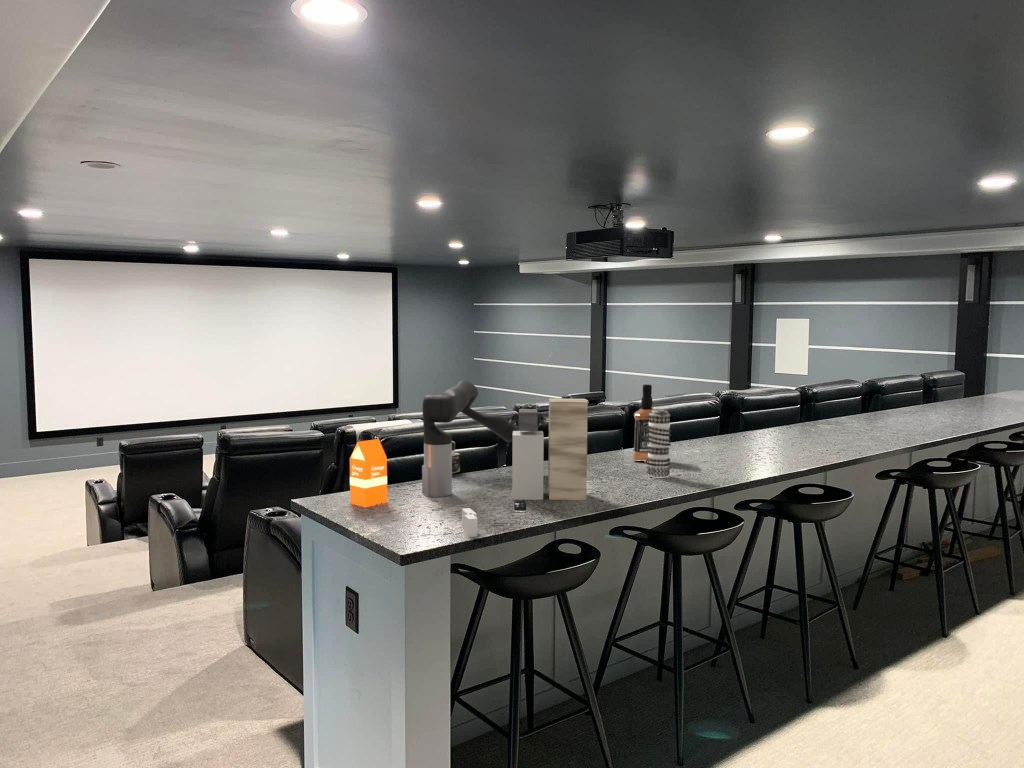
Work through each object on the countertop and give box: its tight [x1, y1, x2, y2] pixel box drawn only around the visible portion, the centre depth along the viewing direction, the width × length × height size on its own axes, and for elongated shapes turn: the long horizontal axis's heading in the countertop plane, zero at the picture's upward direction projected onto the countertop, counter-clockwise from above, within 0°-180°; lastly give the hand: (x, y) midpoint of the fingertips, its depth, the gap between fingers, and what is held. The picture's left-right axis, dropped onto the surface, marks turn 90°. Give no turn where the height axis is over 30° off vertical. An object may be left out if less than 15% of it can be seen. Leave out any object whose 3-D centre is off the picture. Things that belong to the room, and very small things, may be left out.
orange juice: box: [349, 438, 388, 508], centre depth 231 cm, size 8×9×20 cm
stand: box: [547, 398, 589, 501], centre depth 241 cm, size 10×12×32 cm
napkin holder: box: [461, 507, 478, 538], centre depth 200 cm, size 15×11×6 cm
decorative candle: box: [646, 409, 672, 477], centre depth 274 cm, size 9×9×25 cm
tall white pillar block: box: [511, 430, 545, 501], centre depth 241 cm, size 10×10×21 cm
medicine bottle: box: [452, 440, 461, 474], centre depth 281 cm, size 7×7×12 cm
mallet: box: [518, 408, 539, 431], centre depth 245 cm, size 19×6×6 cm, turn 179°
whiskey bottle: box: [632, 384, 654, 461], centre depth 307 cm, size 10×10×32 cm
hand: (527, 411), depth 250 cm, fingers closed on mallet, 3 cm apart
